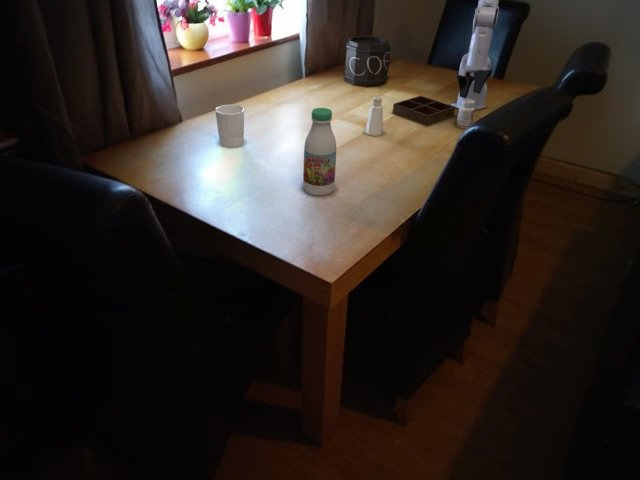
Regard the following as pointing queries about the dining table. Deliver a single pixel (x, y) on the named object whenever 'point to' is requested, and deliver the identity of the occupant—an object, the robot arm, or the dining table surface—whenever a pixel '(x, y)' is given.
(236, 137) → the white cup
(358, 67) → the coffee canister
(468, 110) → the pill bottle
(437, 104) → the tray
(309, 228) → the dining table surface
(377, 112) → the pepper shaker
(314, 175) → the milk bottle
